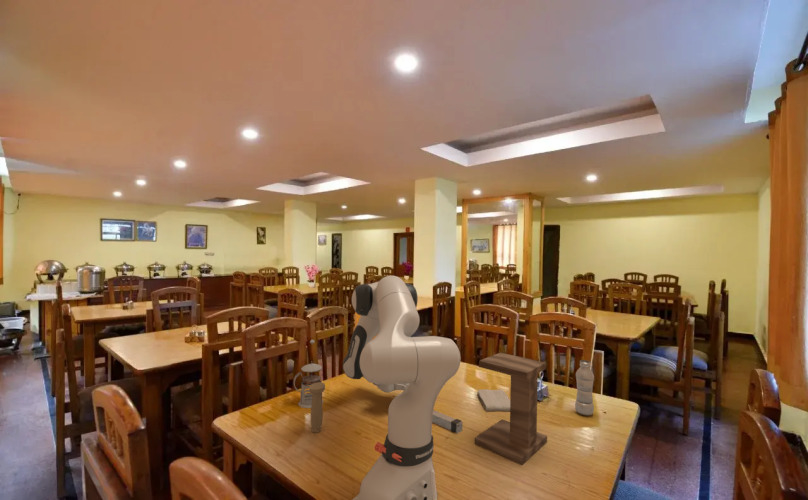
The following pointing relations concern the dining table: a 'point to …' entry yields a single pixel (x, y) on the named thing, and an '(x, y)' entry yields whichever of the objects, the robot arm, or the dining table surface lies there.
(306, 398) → the french press
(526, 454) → the mount stand
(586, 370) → the plastic bottle
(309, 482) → the dining table surface
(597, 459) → the dining table surface
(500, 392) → the washcloth
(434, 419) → the grey square bar
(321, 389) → the handle
